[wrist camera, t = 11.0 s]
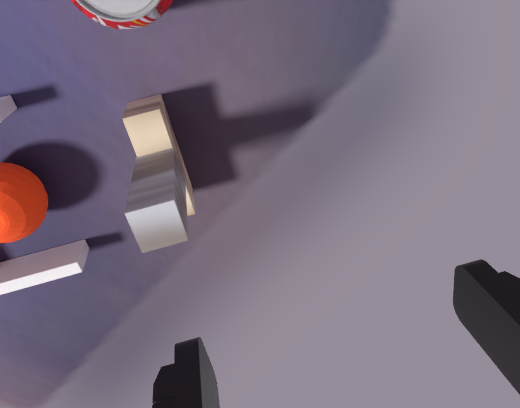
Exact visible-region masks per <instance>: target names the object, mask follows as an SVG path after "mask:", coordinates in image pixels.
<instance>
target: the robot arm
mask: <svg viewBox="0 0 520 408" xmlns="http://www.w3.org/2000/svg"><path fill="white" fill-rule="evenodd" d="M453 305H454V309H455V312H456V314H457V316H458V318H459V320H460V321H461V323H462V324H463V325H464V326H465V328H466V329H467V330H468V331H469V332H470V334H471V335H472V336H473V337H474V339H475V340H476V341H477V342H478V344H479V345H480V346H481V347H482V349H483V350H484V351H485V352H486V353H487V355H488V356H489V357H490V358H491V360H492V361H493V362H494V363H495V365H496V366H497V367H498V368H499V370H500V371H501V372H502V373H503V375H504V376H505V377H506V378H507V380H508V381H509V382H510V383H511V384H512V386H513V387H514V388H515V389H516V391H517V392H518V393H519V394H520V278H518V277H516V276H514V275H512V274H510V273H508V272H506V271H504V272H500V273H498V272H497V271H496V270H495V269H493V268H492V267H491V266H490V265H489V264H488V263H487V262H486V261H484V260H477V261H473V262H470V263H466V264H463V265H459V266H457V267H456V268H455V276H454V292H453ZM152 408H220V406H219V396H218V388H217V382H216V377H215V373H214V370H213V367H212V365H211V362H210V360H209V357H208V355H207V352H206V350H205V347H204V345H203V342H202V340H201V338H200V337H198V338H194V339H191V340H188V341H184V342H181V343H177V344H175V363H174V364H170V365H167V366H163V367H161V369H160V371H159V374H158V376H157V378H156V380H155V382H154V385H153V405H152Z"/></svg>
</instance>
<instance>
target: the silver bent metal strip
mask: <svg viewBox="0 0 520 408" xmlns="http://www.w3.org/2000/svg"><path fill="white" fill-rule="evenodd" d="M122 119H123V122H124V124H125V127H126V129H127V132H128V134H129V137H130V139H131V142H132V145H133V147H134V150H135V152H136V155H137V158H136V162H135V167H134V172H133V176H132V181H131V186H130V191H129V196H128V200H127V205H126V210H125V215H126V218H127V220H128V222H129V224H130V227H131V229H132V231H133V233H134V236H135V238H136V240H137V242H138V245H139V247H140V249H141V252H142V253H145V252H149V251H152V250H156V249H159V248H163V247H166V246H170V245H174V244H177V243H181V242H184V241H188V240H189V238H188V221H187V216H189V215H193V214H195V206H194V195H193V188H192V185H191V182H190V179H189V176H188V173H187V170H186V167H185V164H184V161H183V158H182V155H181V152H180V149H179V146H178V143H177V140H176V137H175V134H174V131H173V128H172V125H171V122H170V119H169V116H168V113H167V110H166V107H165V104H164V101H163V98H162V95H161V94H159V95H155V96H151V97H147V98H144V99H140V100H136V101H132V102H128V105H127V107H126V110H125V113H124V116H123V118H122Z"/></svg>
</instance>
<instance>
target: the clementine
mask: <svg viewBox="0 0 520 408" xmlns="http://www.w3.org/2000/svg"><path fill="white" fill-rule="evenodd" d="M47 208H48V195H47V193H46V190H45V188H44V186H43V183H42V182H41V181H40V180H39V178H38V177H37V176H36V175H35V174H33V173H32V172H31V171H30V170H28V169H26V168H24V167H22V166H19V165H16V164H12V163H0V243H8V242H13V241H17V240H19V239H22V238H24V237H26V236H28V235H30V234H31V233H32V232H34V231H35V230H36V229H37V228H38V227H39V226H40V225H41V223H42V222H43V220H44V218H45V216H46V212H47Z"/></svg>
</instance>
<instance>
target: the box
mask: <svg viewBox="0 0 520 408" xmlns="http://www.w3.org/2000/svg"><path fill="white" fill-rule="evenodd" d="M16 109H17V107H16V105H15V103H14V101H13V99H12V97H11V95H8V96H4V97H0V122H2V121H3V120H4V119H5V118H7V117H8V116H9V115H10V114H11V113H12V112H14V111H15V110H16ZM89 249H90V248H89V247H88V245H87V243H86V241H85V239H84V240H80V241H77V242H73V243H69V244H66V245H62V246H58V247H55V248H51V249H47V250H44V251H40V252H36V253H33V254H29V255H25V256H22V257H18V258H15V259H11V260H7V261H4V262H0V295H1V294H5V293H8V292H12V291H16V290H19V289H23V288H26V287H30V286H34V285H37V284H41V283H44V282H48V281H52V280H55V279H59V278H62V277H66V276H70V275H73V274H77V273H80V272H82V271H83V268H84V265H85V261H86V258H87V255H88V252H89Z"/></svg>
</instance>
